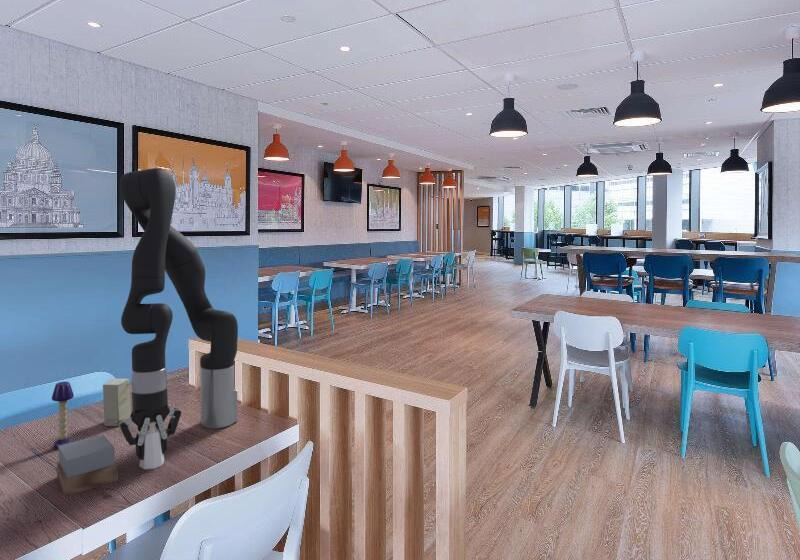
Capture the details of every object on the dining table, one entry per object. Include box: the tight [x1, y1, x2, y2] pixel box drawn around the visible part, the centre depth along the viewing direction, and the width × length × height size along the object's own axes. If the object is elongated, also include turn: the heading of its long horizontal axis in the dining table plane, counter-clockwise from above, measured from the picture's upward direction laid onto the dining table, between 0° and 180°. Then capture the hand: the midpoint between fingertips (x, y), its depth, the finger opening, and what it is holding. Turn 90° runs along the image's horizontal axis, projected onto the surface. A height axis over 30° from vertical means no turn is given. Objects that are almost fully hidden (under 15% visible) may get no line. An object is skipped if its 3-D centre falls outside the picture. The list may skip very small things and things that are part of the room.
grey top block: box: [57, 434, 116, 478], centre depth 111 cm, size 9×9×4 cm
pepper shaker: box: [139, 422, 165, 470], centre depth 118 cm, size 5×5×11 cm
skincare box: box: [102, 377, 132, 427], centre depth 141 cm, size 6×4×12 cm
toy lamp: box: [51, 381, 75, 450], centre depth 126 cm, size 5×5×17 cm
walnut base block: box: [56, 461, 119, 497], centre depth 111 cm, size 10×10×4 cm
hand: (151, 455), depth 118 cm, fingers closed on pepper shaker, 4 cm apart
